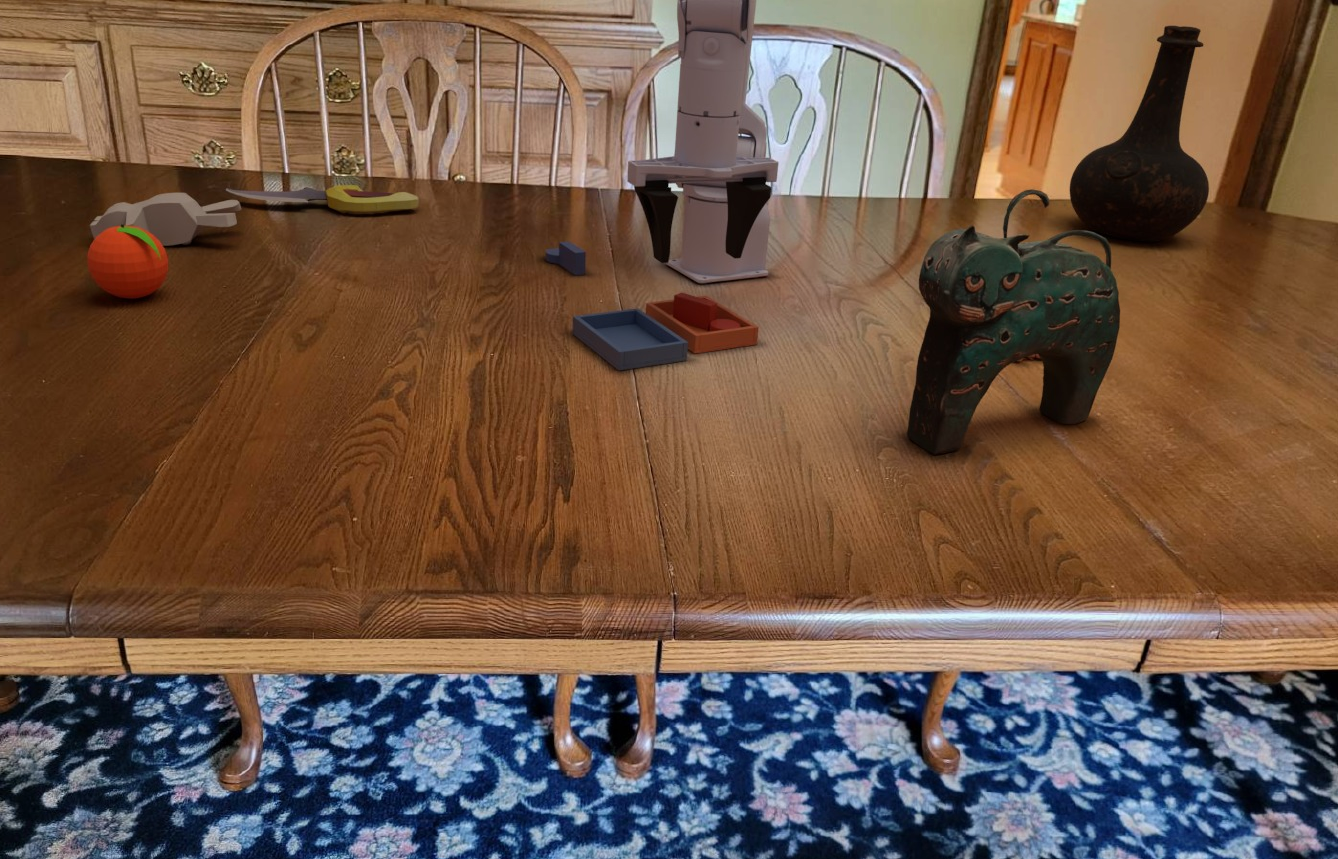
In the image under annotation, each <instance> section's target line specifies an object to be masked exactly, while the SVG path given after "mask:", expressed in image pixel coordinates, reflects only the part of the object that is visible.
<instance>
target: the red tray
mask: <svg viewBox="0 0 1338 859" xmlns="http://www.w3.org/2000/svg"><path fill="white" fill-rule="evenodd" d="M698 297H699V298H702V299H705V300H709V301H712V302H715V303H717V315H716V319H729V320H734V321H736V322H738V323H740V325H741V328H734V329H726V330H719V331H712V332H709V331H707V330H704V329H701V328H698V327H694V326H691V325H688V324H685V323H682V322H679V321H678V320H676V319H675V318H673V306H674V299H666V300H658V301H657V300H656V301H649V302H645V313H646V314H647V315H649V316H650V317H652V318H653V319H655V320H656V321H657V322H659V323H660V324H662V325H663V326H665V327H666V328H668V329H669V330H671V331H672V332H674V333H675V334H677V335H678V336H680V337H681V338H683V339H684V340H685V341H687V342H688V349H687V351H690V352H691V353H692V354H700V353H701V354H702V353H708V352H715V351H721V350H728V349H735V348H736V349H737V348H742V347H749V346H755V345H757V344H758V338H759V328H760V327H759V326H758V325H757V324H755V323H753V322H751V321H749V320H748V319H747V318H744V317H743V316H741V315H739V314H738V313H736V312H734V311H732V310H731V309H730V308H728V307H726V306H725V305H723V304H721V303H719V302H717V301H716V300H714V299H712V298H711V297H709V296H708V295H700V296H698Z"/></svg>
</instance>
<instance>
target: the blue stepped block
mask: <svg viewBox="0 0 1338 859" xmlns="http://www.w3.org/2000/svg"><path fill="white" fill-rule="evenodd" d="M586 257H587V252H586V250H584V249H583V248H581V247H579V246H578V245H576V244H574V243H572V242H571V241H559V242H558V247H556V248H555V247H554V248H548V249H546V250H545V261H546V262H547V263H550V264H557V265H559V266H560V267H562V268H564V269H565V270H567V271H568V272H569V273H570V274H572V275H573V276H580V275H581V276H582V275H586V264H587V262H586V261H587V260H586V259H587V258H586Z"/></svg>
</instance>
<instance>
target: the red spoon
mask: <svg viewBox="0 0 1338 859" xmlns="http://www.w3.org/2000/svg"><path fill="white" fill-rule="evenodd" d="M673 300H674V306H673V318H675V319H676V320H678V321H679V322H682V323H685V324H688V325H691V326H694V327H698V328H701V329H704V330H707V331H709V332H712V331H719V330H726V329H734V328H741V325H740V323H738V322H736V321H734V320H729V319H716V315H717V303H715V302H712V301H709V300H705V299H702V298H699V296H696V295H692V294H689V293H685V292H679V293H676V294H674V295H673Z"/></svg>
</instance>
